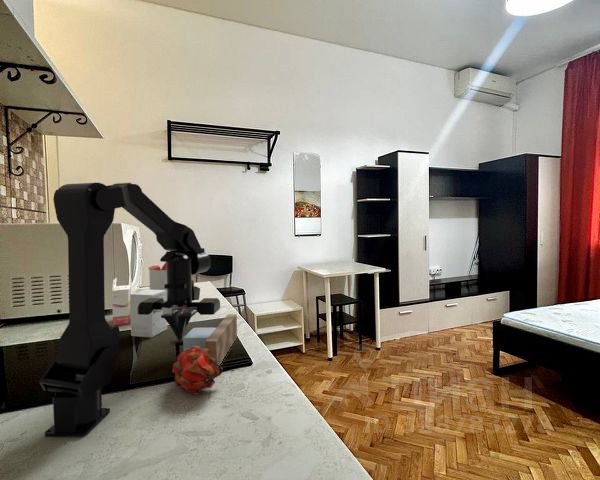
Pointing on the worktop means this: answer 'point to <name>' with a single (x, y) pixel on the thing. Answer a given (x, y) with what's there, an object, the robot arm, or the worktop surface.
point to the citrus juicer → (158, 277)
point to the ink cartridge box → (121, 303)
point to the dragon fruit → (195, 369)
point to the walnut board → (222, 338)
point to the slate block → (197, 337)
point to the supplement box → (147, 323)
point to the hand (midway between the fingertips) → (180, 339)
